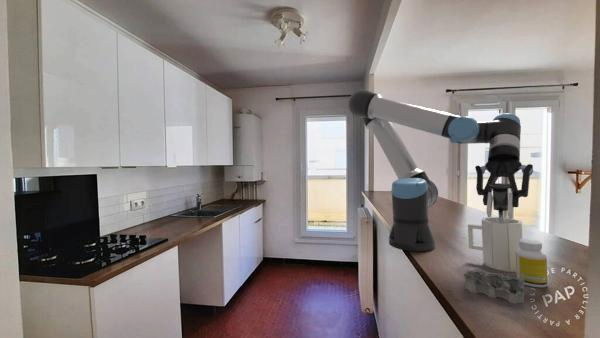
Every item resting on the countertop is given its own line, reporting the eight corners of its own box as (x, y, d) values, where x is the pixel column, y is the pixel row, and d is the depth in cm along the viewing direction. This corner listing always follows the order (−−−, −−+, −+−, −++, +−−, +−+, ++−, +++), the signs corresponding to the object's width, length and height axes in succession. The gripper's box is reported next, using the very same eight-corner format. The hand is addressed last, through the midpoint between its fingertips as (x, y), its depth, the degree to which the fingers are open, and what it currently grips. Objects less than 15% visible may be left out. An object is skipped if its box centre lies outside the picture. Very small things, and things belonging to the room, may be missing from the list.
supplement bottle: (554, 289, 56) (552, 245, 56) (525, 287, 57) (523, 244, 57) (537, 278, 61) (535, 238, 61) (511, 277, 63) (509, 237, 63)
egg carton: (461, 291, 58) (460, 273, 58) (469, 279, 63) (469, 263, 63) (524, 308, 50) (522, 288, 50) (527, 293, 55) (526, 275, 55)
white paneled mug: (466, 263, 72) (464, 220, 72) (472, 255, 78) (471, 215, 78) (522, 275, 63) (520, 225, 63) (524, 264, 70) (522, 219, 69)
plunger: (487, 259, 69) (484, 184, 69) (490, 252, 74) (488, 183, 73) (516, 264, 65) (513, 185, 65) (517, 257, 69) (515, 183, 69)
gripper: (541, 159, 74) (543, 227, 63) (473, 162, 86) (464, 219, 74) (540, 140, 70) (543, 209, 59) (469, 146, 82) (459, 204, 70)
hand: (499, 214), depth 66 cm, fingers open, 4 cm apart
